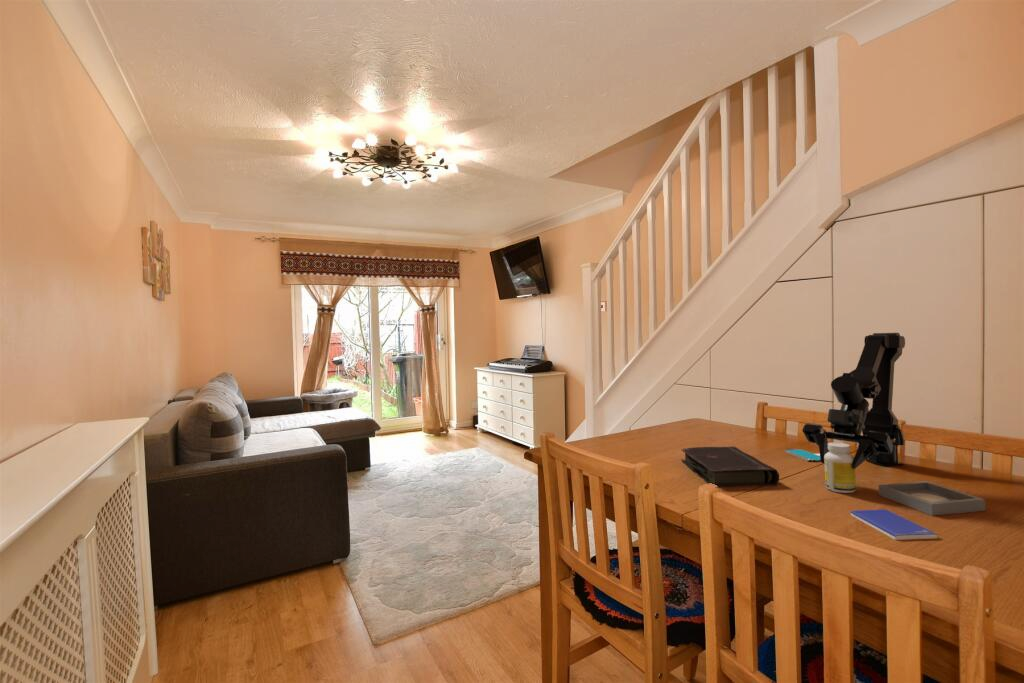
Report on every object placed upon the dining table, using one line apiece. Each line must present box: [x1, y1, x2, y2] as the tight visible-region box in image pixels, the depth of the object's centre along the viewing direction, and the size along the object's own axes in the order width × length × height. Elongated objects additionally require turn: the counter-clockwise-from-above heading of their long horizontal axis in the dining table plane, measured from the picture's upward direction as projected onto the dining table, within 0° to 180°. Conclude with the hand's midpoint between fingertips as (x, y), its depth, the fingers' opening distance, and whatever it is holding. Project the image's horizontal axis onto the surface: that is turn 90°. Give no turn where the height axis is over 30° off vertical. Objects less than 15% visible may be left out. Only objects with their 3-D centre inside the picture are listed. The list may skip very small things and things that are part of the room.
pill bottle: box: [823, 442, 857, 494], centre depth 119 cm, size 6×6×12 cm
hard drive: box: [850, 509, 938, 541], centre depth 97 cm, size 2×8×12 cm
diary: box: [680, 445, 780, 488], centre depth 137 cm, size 19×25×5 cm
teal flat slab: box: [784, 447, 821, 463], centre depth 149 cm, size 20×12×2 cm, turn 5°
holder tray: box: [878, 480, 986, 517], centre depth 108 cm, size 13×13×2 cm
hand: (837, 465), depth 118 cm, fingers closed on pill bottle, 6 cm apart
